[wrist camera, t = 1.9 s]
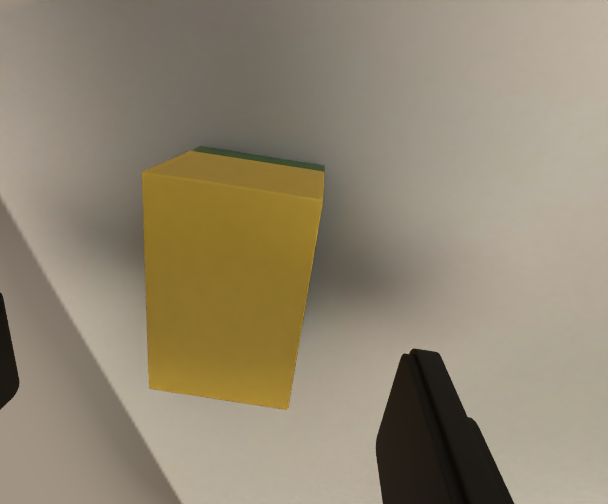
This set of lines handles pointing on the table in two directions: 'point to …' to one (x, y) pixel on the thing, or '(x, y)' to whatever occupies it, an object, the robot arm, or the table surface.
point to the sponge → (228, 272)
